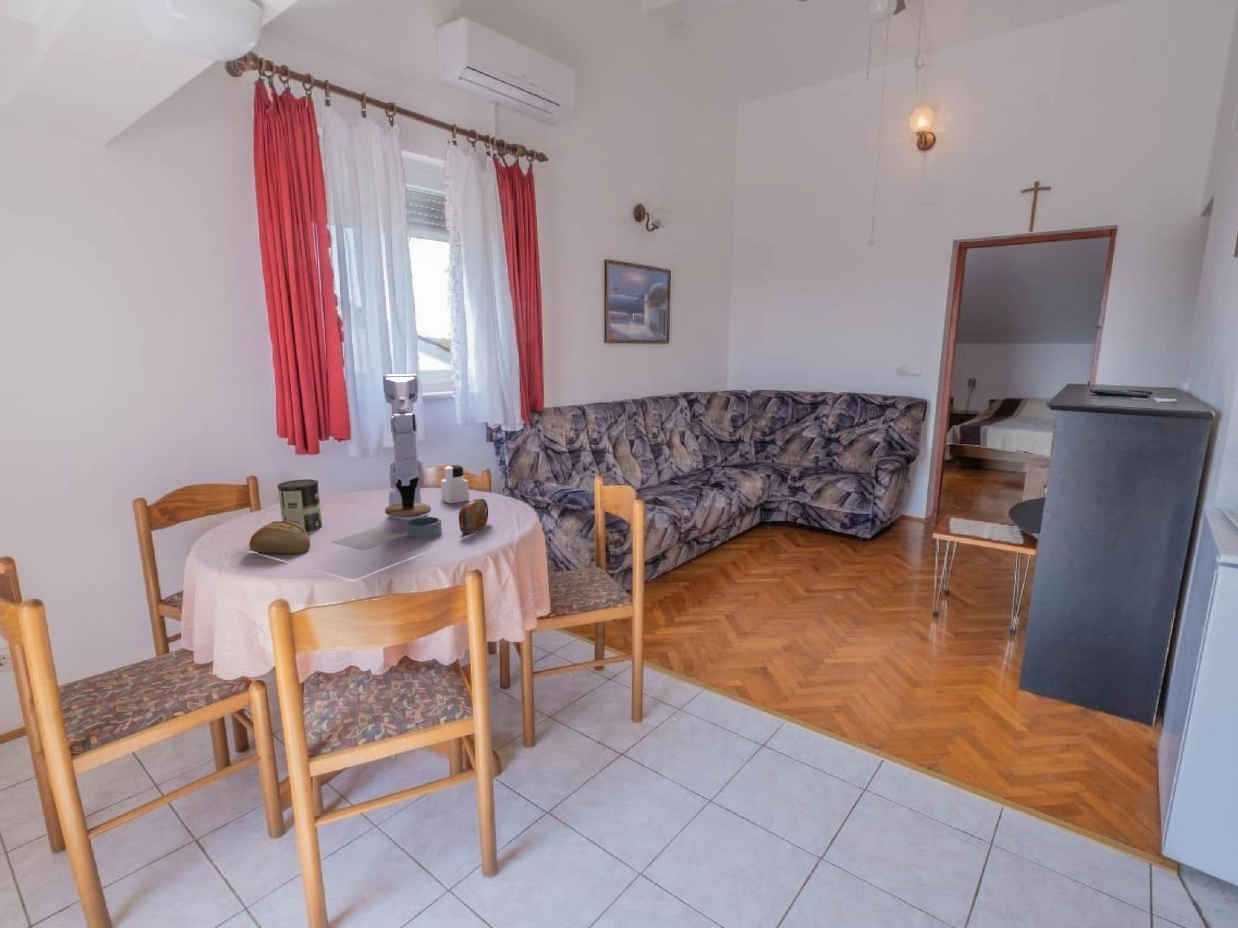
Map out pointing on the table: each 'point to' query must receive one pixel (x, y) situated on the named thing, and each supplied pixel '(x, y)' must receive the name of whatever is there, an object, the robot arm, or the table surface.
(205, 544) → the table surface
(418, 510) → the lid
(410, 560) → the table surface
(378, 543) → the mat
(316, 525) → the coffee can
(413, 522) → the bowl
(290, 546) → the bread roll
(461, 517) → the tin
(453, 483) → the medicine bottle
